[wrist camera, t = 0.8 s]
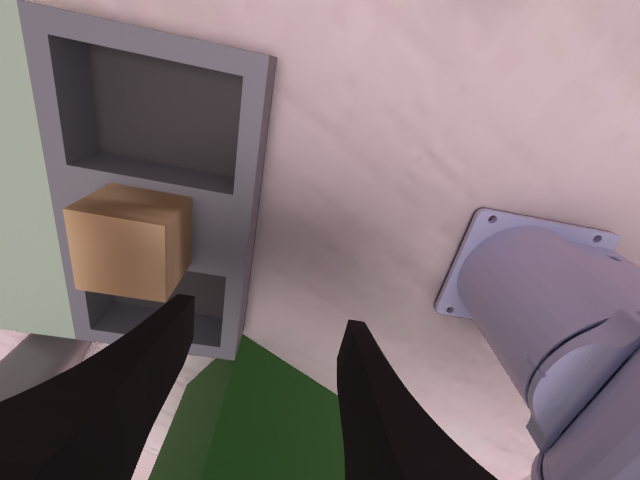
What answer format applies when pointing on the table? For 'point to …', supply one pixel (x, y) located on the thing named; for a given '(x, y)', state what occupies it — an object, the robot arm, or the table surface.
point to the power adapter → (38, 362)
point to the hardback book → (253, 424)
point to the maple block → (129, 241)
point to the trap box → (125, 164)
